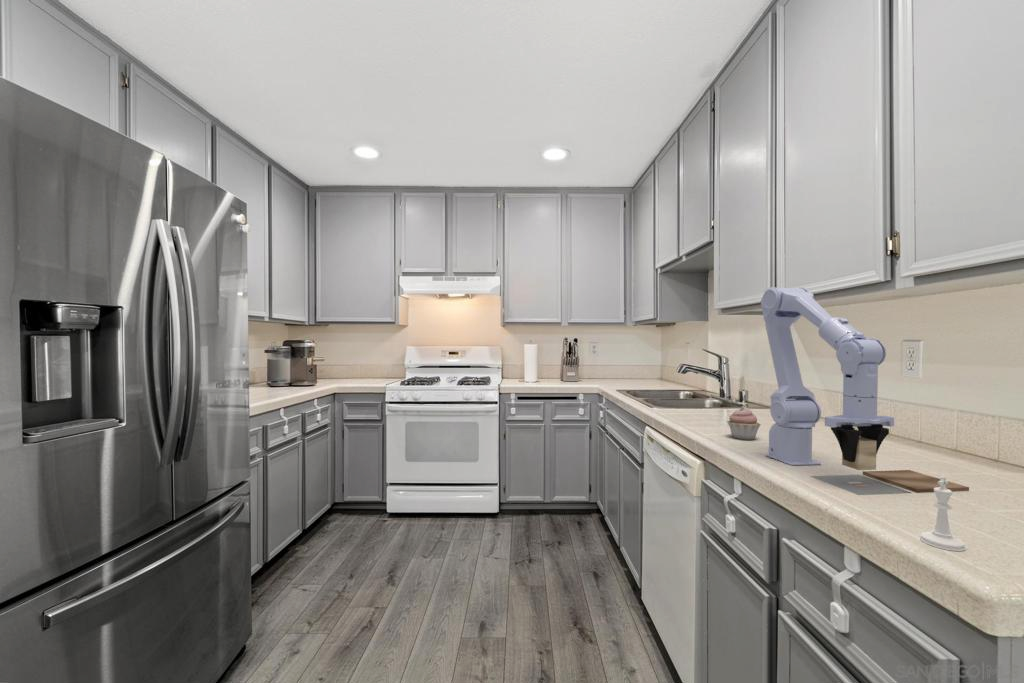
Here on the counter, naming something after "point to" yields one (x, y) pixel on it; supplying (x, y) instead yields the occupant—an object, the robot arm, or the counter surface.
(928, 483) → the board
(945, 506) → the chess piece
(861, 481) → the tile
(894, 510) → the counter surface
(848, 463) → the maple block
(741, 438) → the cupcake
